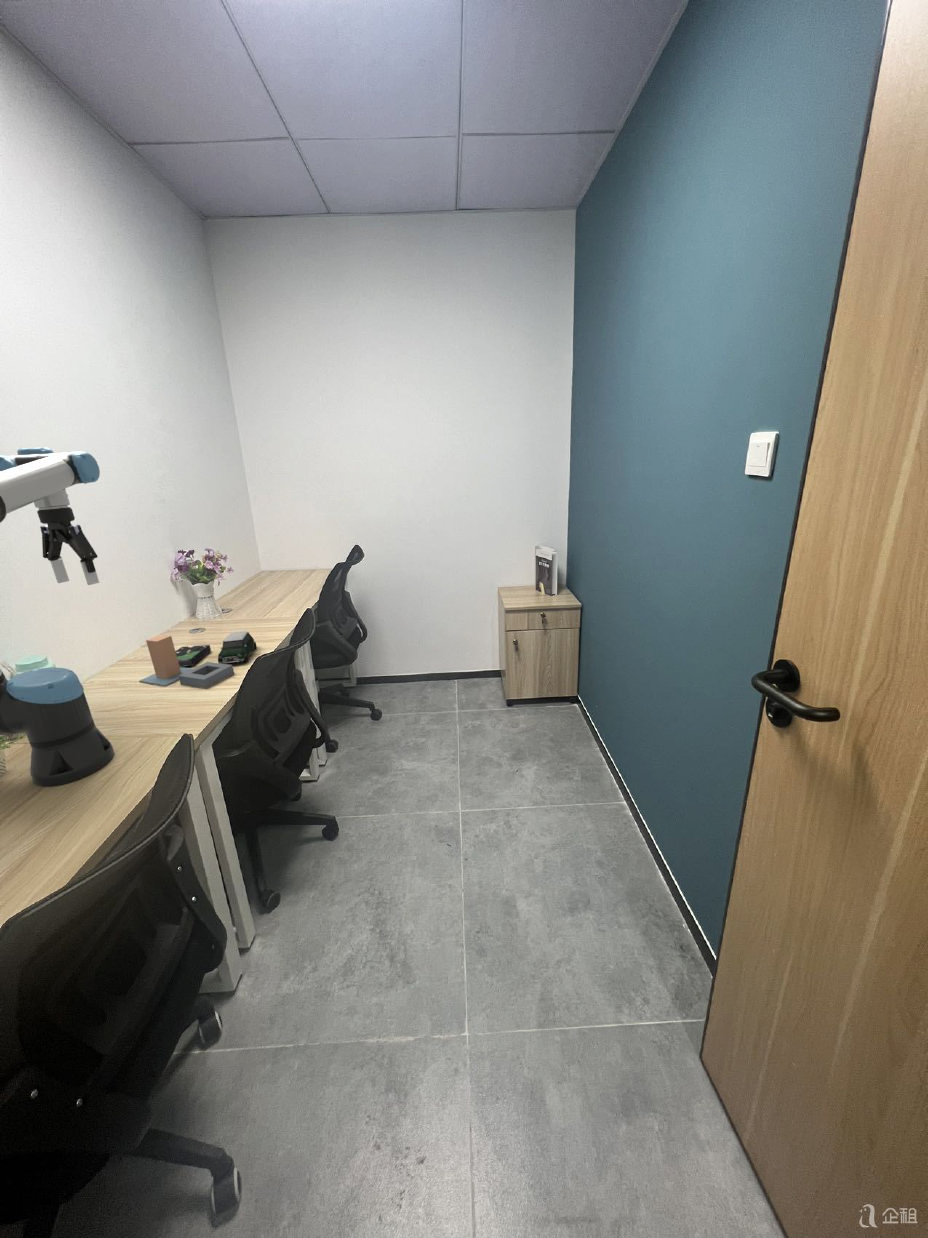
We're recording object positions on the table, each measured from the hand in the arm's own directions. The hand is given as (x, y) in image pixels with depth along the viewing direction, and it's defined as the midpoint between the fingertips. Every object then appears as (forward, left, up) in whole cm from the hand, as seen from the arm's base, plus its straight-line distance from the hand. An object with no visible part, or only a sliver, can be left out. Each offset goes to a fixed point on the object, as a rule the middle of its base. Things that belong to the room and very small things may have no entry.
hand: (78, 583), depth 139 cm
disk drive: (+25, -2, -35) cm, 43 cm away
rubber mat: (+13, -8, -35) cm, 38 cm away
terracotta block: (+13, -8, -34) cm, 37 cm away
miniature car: (+32, -18, -35) cm, 51 cm away
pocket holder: (+15, -23, -35) cm, 44 cm away
